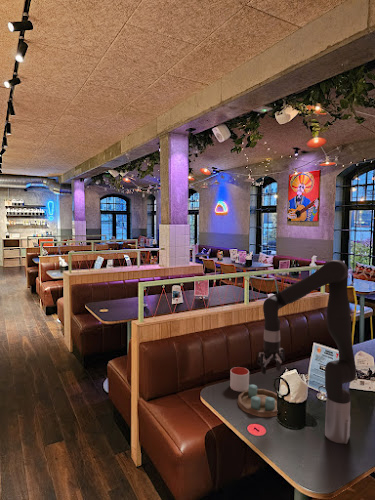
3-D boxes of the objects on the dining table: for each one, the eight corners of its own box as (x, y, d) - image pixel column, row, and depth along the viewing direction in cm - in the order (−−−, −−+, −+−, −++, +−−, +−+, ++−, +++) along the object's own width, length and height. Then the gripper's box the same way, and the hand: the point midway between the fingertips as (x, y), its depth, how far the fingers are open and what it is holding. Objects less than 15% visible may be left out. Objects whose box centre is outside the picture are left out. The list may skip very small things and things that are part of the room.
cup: (226, 387, 188) (226, 370, 187) (239, 382, 194) (239, 365, 193) (239, 395, 180) (239, 377, 179) (252, 389, 186) (253, 371, 185)
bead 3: (275, 409, 165) (276, 398, 165) (272, 413, 162) (272, 402, 161) (267, 406, 168) (267, 395, 167) (263, 410, 164) (263, 399, 164)
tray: (291, 401, 174) (291, 396, 174) (275, 424, 155) (275, 418, 155) (249, 389, 187) (249, 383, 187) (229, 408, 168) (229, 402, 168)
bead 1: (258, 396, 178) (258, 385, 177) (254, 399, 174) (255, 389, 174) (250, 393, 180) (250, 383, 180) (246, 397, 176) (247, 387, 176)
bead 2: (261, 408, 166) (261, 398, 165) (258, 413, 162) (258, 402, 162) (253, 406, 168) (253, 395, 168) (249, 410, 165) (249, 399, 164)
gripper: (278, 333, 168) (277, 366, 169) (254, 338, 162) (253, 371, 163) (289, 338, 161) (288, 372, 163) (264, 343, 155) (263, 378, 156)
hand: (271, 371), depth 163 cm, fingers open, 8 cm apart
